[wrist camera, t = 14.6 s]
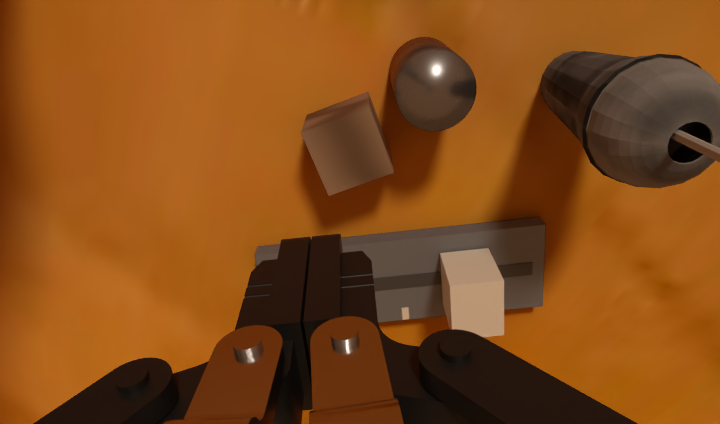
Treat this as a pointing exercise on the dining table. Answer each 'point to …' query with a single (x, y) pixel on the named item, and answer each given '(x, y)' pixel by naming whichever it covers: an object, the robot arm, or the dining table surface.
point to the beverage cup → (638, 114)
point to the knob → (473, 292)
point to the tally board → (423, 268)
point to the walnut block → (347, 144)
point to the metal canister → (431, 84)
